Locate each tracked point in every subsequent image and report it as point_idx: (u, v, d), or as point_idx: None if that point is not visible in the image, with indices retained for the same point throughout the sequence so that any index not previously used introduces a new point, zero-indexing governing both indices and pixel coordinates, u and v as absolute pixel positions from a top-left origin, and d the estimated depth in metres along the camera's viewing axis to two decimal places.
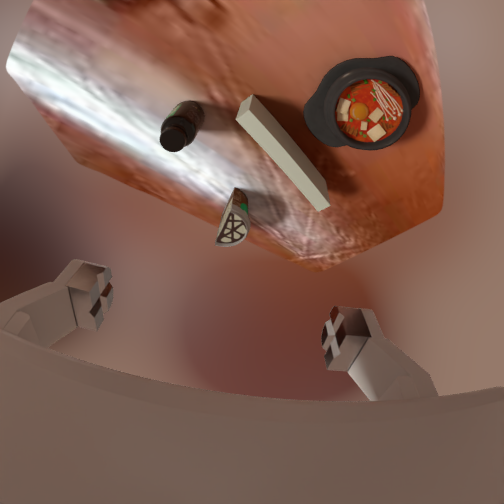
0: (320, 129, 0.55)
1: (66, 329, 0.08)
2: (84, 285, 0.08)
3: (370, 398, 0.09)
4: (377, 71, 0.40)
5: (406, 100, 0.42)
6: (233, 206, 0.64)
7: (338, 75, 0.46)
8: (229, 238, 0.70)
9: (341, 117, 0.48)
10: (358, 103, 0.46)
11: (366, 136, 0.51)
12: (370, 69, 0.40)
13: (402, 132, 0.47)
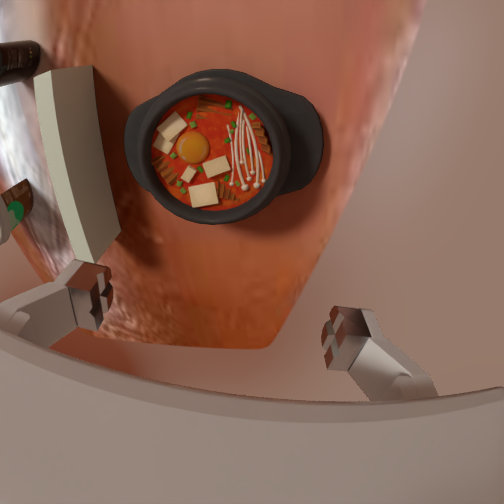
0: (136, 153, 0.35)
1: (65, 329, 0.08)
2: (84, 285, 0.08)
3: (370, 398, 0.09)
4: (257, 96, 0.26)
5: (277, 165, 0.29)
6: None
7: None
8: None
9: (161, 143, 0.30)
10: (197, 133, 0.29)
11: (185, 193, 0.33)
12: (248, 88, 0.26)
13: (243, 214, 0.32)
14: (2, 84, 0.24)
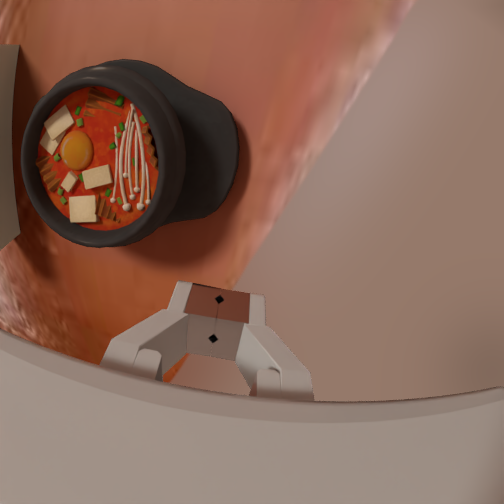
0: None
1: (176, 357, 0.09)
2: (206, 311, 0.09)
3: None
4: (152, 93, 0.19)
5: (160, 184, 0.22)
6: None
7: None
8: None
9: (47, 141, 0.21)
10: (81, 133, 0.21)
11: (65, 204, 0.24)
12: (144, 82, 0.19)
13: (118, 240, 0.24)
14: None
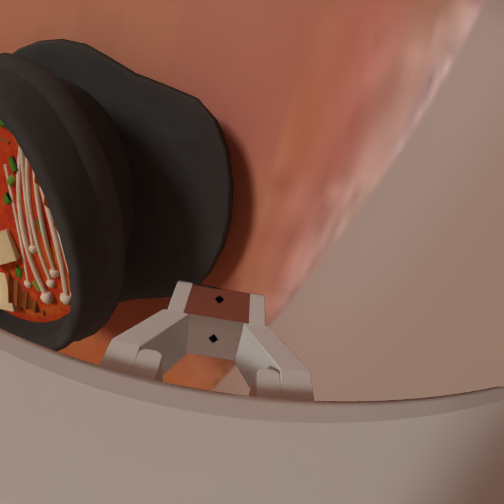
0: None
1: (176, 357, 0.09)
2: (206, 311, 0.09)
3: None
4: (48, 95, 0.08)
5: (75, 283, 0.10)
6: None
7: None
8: None
9: None
10: None
11: None
12: (36, 75, 0.07)
13: None
14: None
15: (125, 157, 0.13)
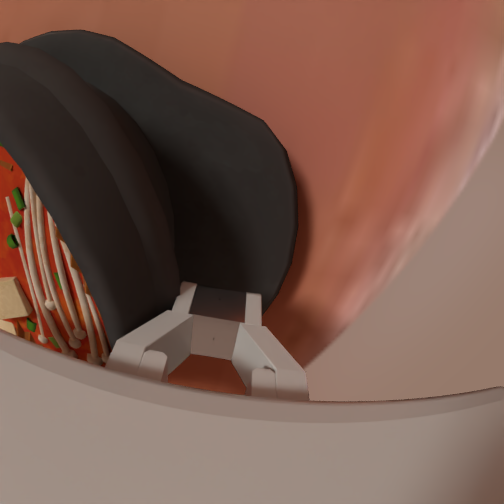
0: None
1: (181, 358, 0.09)
2: (211, 312, 0.09)
3: None
4: (73, 107, 0.06)
5: None
6: None
7: None
8: None
9: None
10: None
11: None
12: (53, 75, 0.05)
13: None
14: None
15: (166, 188, 0.11)
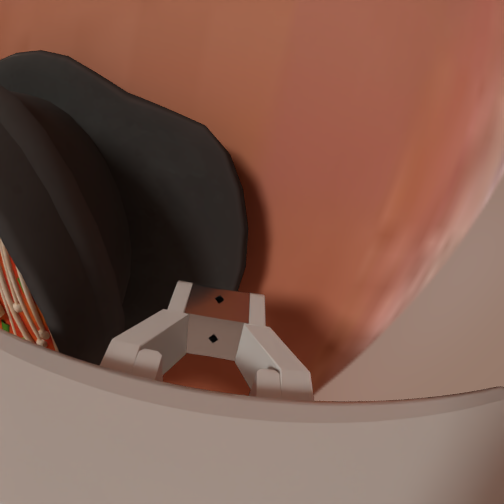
0: None
1: (177, 358, 0.09)
2: (206, 311, 0.09)
3: None
4: (15, 131, 0.06)
5: None
6: None
7: None
8: None
9: None
10: None
11: None
12: (1, 104, 0.05)
13: None
14: None
15: (118, 197, 0.11)
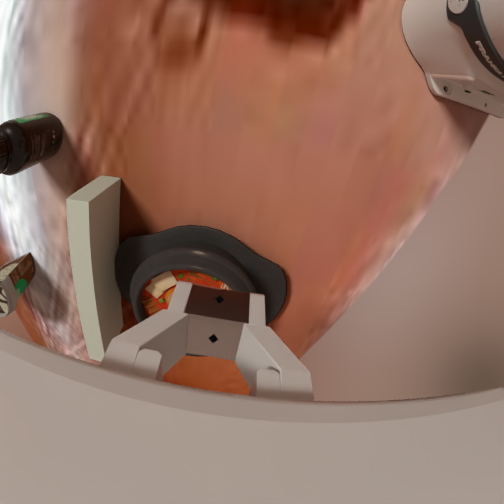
0: (125, 274, 0.40)
1: (177, 357, 0.09)
2: (206, 311, 0.09)
3: None
4: (241, 277, 0.35)
5: None
6: (7, 279, 0.33)
7: (194, 238, 0.38)
8: None
9: (153, 289, 0.36)
10: None
11: None
12: (235, 269, 0.34)
13: None
14: None
15: None
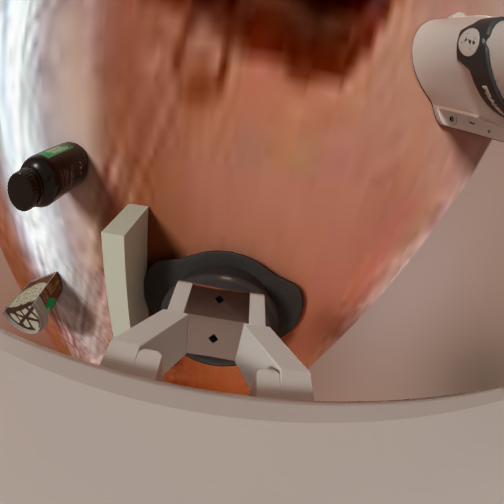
0: (154, 294, 0.45)
1: (177, 357, 0.09)
2: (206, 311, 0.09)
3: None
4: None
5: None
6: (39, 300, 0.38)
7: (220, 262, 0.42)
8: (18, 319, 0.40)
9: None
10: None
11: None
12: (258, 291, 0.38)
13: (235, 364, 0.43)
14: None
15: None
